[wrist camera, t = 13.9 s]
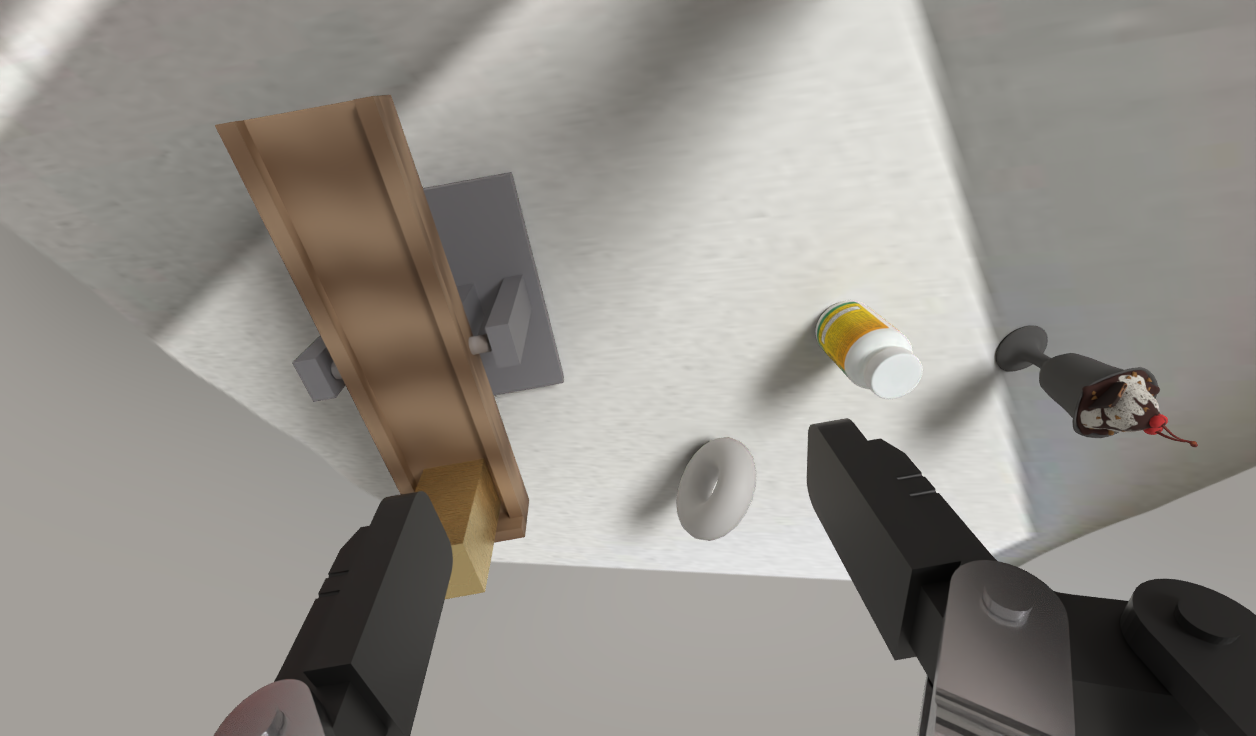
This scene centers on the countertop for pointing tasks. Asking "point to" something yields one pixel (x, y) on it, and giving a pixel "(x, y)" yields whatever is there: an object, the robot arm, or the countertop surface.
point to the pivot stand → (480, 288)
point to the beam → (379, 287)
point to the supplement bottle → (868, 349)
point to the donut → (716, 489)
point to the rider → (465, 520)
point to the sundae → (1089, 387)
